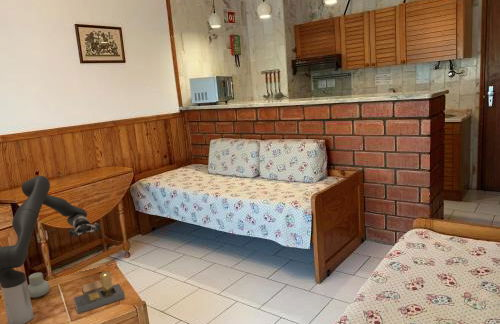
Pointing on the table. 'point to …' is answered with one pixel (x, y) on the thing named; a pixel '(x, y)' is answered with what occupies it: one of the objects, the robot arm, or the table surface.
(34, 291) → the air freshener
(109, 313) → the table surface
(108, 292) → the peg
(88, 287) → the pad
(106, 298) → the rack plate
